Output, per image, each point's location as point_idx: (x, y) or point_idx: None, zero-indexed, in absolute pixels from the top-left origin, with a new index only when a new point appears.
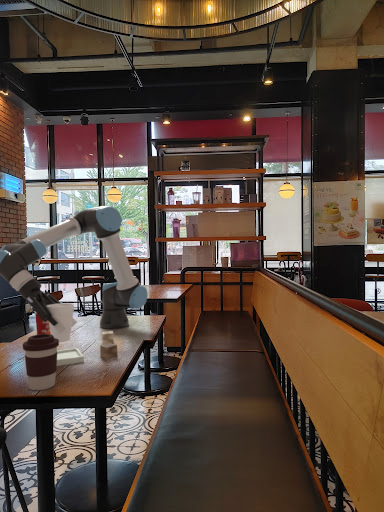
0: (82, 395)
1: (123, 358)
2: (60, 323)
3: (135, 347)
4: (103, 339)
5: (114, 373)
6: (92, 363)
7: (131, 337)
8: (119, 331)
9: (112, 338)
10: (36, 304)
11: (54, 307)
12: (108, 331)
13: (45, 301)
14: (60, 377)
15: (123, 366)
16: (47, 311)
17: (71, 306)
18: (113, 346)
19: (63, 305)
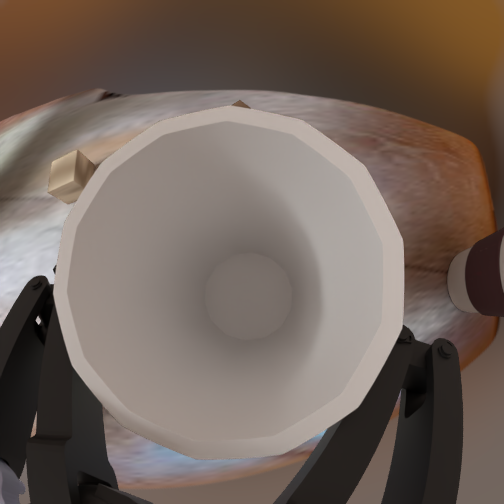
0: (488, 185)
1: (265, 108)
2: None
3: (160, 99)
4: (84, 186)
5: (387, 125)
6: None
7: (62, 136)
8: (7, 186)
9: (85, 160)
10: (444, 500)
11: (401, 306)
12: (51, 172)
13: (141, 502)
14: (421, 253)
15: (337, 106)
16: (402, 377)
17: (278, 121)
18: (250, 108)
19: (87, 270)
